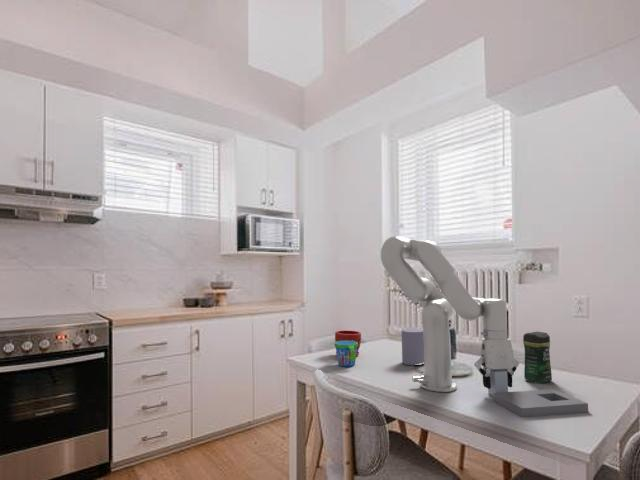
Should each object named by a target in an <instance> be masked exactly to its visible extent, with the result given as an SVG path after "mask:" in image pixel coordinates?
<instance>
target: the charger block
mask: <svg viewBox="0 0 640 480" xmlns="http://www.w3.org/2000/svg"><path fill="white" fill-rule="evenodd" d="M489 377H490V382H491V388H490V389H488V388H487V390H488V391H487V392H488V394H489V395H490V396H492V397H493V393H501V392H509V387H508V378H507V369H501V370H491V371H490V374H489Z"/></svg>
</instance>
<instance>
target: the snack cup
mask: <svg viewBox="0 0 640 480" xmlns="http://www.w3.org/2000/svg"><path fill="white" fill-rule="evenodd" d="M357 346H358V343H357V342H355V341H353V340H352V341H347V340H346V341H338V342H334V347H335V353H336V352H337V354H336V358H337V364H338V366H340V367H346V368H347V367H354V366H355V365H356V360H357V356H356V351H357Z"/></svg>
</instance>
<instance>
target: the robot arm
mask: <svg viewBox="0 0 640 480" xmlns="http://www.w3.org/2000/svg"><path fill="white" fill-rule="evenodd" d="M380 260H381V263H382V266H383V268H384V269H385V271H386V272H387V274H388V275H389V276H390V277H391V278H392V280H393V281H394V282H395V284H396V285H397V286H398V288H399V289H400V290H401V291H402V292H403V294H404V295H405V296H406V297H407V298H408V300H409V301H411V302H412V303H415V304H416V303H417V304H419V305H420V306H421V307H422V310H421V324H422V330H423V337H424V372H422V373H421V375H420V376H416V375H415V376H412V377H411V381H412V382H413V383H418V384H420V387H422V389H425V390H427V391H430V392H431V391H432V392H439V393H449V392H454V391H456V390H457V387H458V386H457V384H456V383H455V382H453V378H452V377H453V376H452V373H453V371H452V351H451V350H452V349H451V330H450V320H451V319H452V317H453V315H454V311H455V312H456V313H457V315H458V316H459V318H461V319H463V320H464V321H468V322H473V321H475V320H477V319H479V318H482V320H483V321H482V323H483V325H482V326H483V329H482V330H483V331H481V332H480V336H482V338H481V339H482V340H481V345H480V357H479V359H478V360H476V361H475V362H474V365H473V366H474V367H475V368H476V369H477V371H478V372H479V373H480V375H482V385H483V387H484V388H486V389H487V390H488V389H490V388H491V382H490V377H489V374H490V371H491V370H501V369H507V378H508V388H513V376H514V374H515V372H516V370H517V368H518V367H519V366H520V365H519V364H520V361H518V360H517V358H516V359H515V358H514V355H515V354H514V350H513V345H512V341H511V338H508V317H507V303H506V301H505V299H502V298H480V297H474V296H472V295H471V294H470V293H469V291H468V289H466V288H465V286H464V284H463V283H462V282H461V280H460V278H459V274H458V272H457V271H456V269H455V267H454V266H453V265H452V264H451V262H449V259H447V258H446V256H445V255H444V254H443V253H442V249H441V247H440V245H439V244H437V243H436V242H434V241H430V240H419V239H413V238H408V237H407V238H405V237H403V236H402V237H401V236H396V235H395V236H391V237H389V238H387V239H386V240H385V241H383V244H382V246H381V249H380ZM406 260H412V261H417V262H419V263H420V264H421V266H422V267H423V268H424V269H425V270H426V272H427V273H428V275H429V276H430V277H431V278H432V279H433V281H434V282H435V284H437V286H436V285H435V284H434V283H433V282H431V280H429V279H428V278H425V277H421V276H420V275H418V273H417V272H416V271H415V270H414V269H413V268H412V266H411V265H410V264H409V263H408V262H407V261H406ZM437 287H438V288H437Z"/></svg>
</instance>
